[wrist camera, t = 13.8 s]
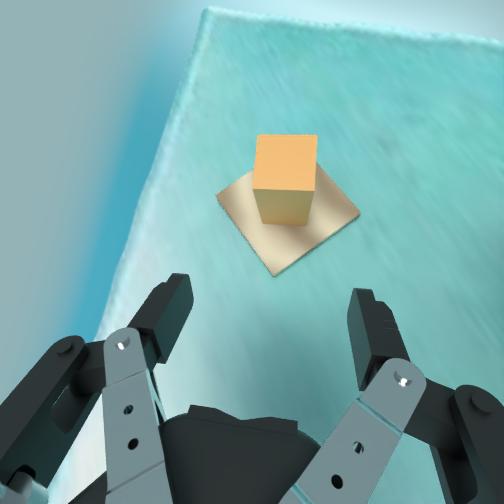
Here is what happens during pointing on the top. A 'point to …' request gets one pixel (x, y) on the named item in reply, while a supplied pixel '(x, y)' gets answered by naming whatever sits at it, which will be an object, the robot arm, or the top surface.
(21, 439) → the robot arm
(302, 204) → the tall orange pillar
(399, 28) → the top surface
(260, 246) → the post board
